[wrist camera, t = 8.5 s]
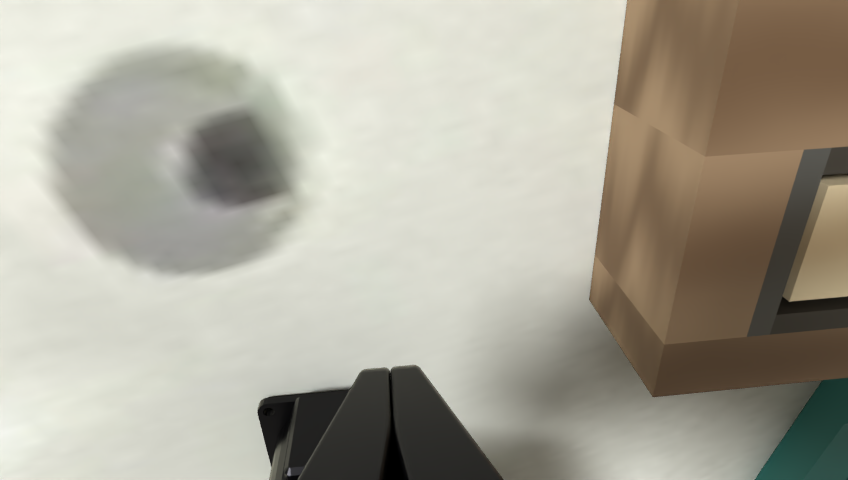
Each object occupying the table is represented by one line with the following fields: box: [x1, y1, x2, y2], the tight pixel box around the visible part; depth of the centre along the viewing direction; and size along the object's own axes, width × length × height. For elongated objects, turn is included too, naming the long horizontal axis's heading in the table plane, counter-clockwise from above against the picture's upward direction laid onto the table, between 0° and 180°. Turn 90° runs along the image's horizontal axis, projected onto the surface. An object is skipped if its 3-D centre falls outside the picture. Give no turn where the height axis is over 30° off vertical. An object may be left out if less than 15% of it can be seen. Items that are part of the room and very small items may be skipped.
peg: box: [783, 173, 848, 302], centre depth 19 cm, size 4×4×6 cm
